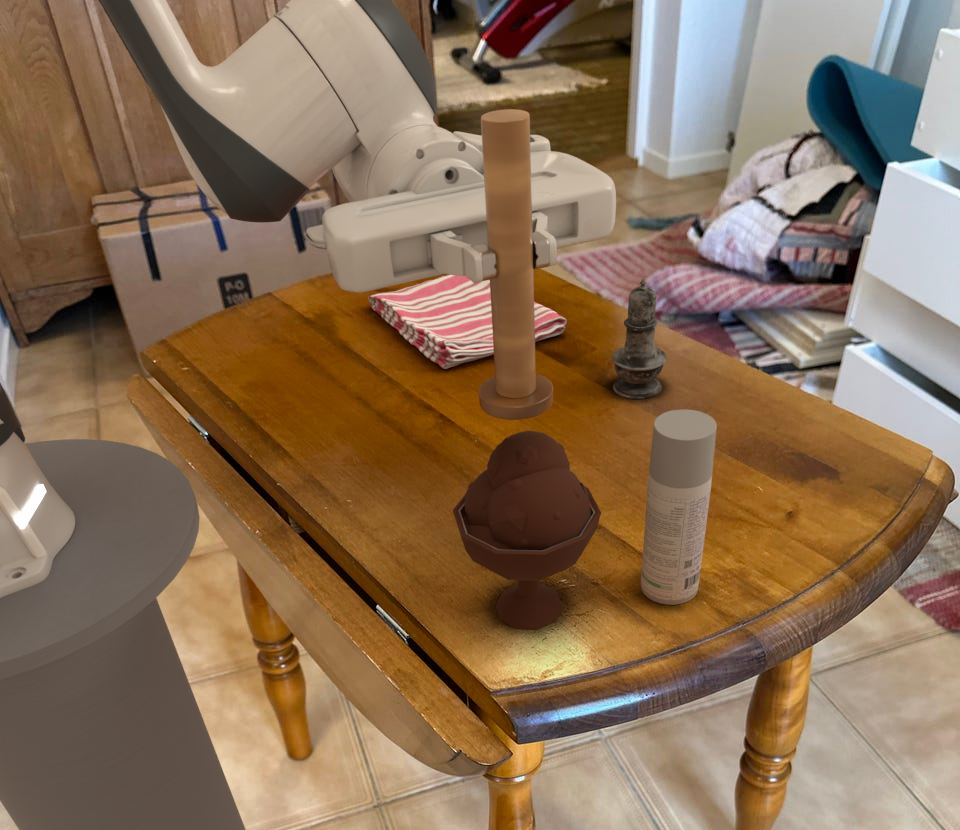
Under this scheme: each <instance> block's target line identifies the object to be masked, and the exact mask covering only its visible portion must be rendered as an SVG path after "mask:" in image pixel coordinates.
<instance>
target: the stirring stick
mask: <svg viewBox="0 0 960 830" xmlns="http://www.w3.org/2000/svg"><path fill="white" fill-rule="evenodd" d="M530 116H531V115H530V113H529V112H528V111H527V110H523V109H515V108H514V109H513V108H510V109H509V108H508V109H496V110H492V111H488V112H486V113H484V114H483V115H481V116H480V128H481V129H480V130H481V136H482V149H483V167H484V185H485V203H486V221H487V239H488V246H489V248H491V249H493V250H494V252H495V255H496V264H495V266H494V267H495V268H496V269H497V277H496V278H494V279H490V293H491V311H492V329H493V347H494V354H493V363H494V376H492V377H490V378H488V379H486V380H485V381H484V382H483V383H481V385H480V387H479V389H478V397H479V398H478V401H479V406H480V409H481V410H482V411H483V412H484V413H485V414H487V415H489V416H490V417H493V418H497V419H499V420H500V419H501V420H510V421H520V420H527V419H531V418H534V417H539V416H541V415H543V414H544V413H546V412H547V411H548V410H549V409H550V408H551V407H552V406H553V403H554V399H555V398H554V384H553V383H552V382H551V380H550V379H548V378H547V377H545V376H543V375H540V374H537V370H536V369H537V367H536V365H537V364H536V342H535V319H534V301H535V285H534V283H535V281H534V278H535V277H534V269H533V235H532V193H531V151H530V135H531V117H530Z"/></svg>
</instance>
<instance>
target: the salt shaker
mask: <svg viewBox="0 0 960 830" xmlns="http://www.w3.org/2000/svg"><path fill="white" fill-rule="evenodd" d="M640 280H641V281H640V282H639V284H640V285H639V286H636V287H634V288H633V289H632V290H631V291H630V292H629V293H628V300H627V301H628V303H627V309H628V310H627V318H626V319H624V321H623V325H624V327H625V328H626V333H625V341H624V345H623V346H622V347H620V348H617V349H616V350H615V351H614V352H612V355H611V362H612V363H613V364H614V367H613V368H614V370H615V372H616V375H617V376H618V377H619V378H618V379H617V380H616V381H615V382H614V383H613V386H612V389H613V391H614V393H615V394H616V395H618V396H620V397H622V398H624V399H625V398H626V399H629V400H630V399H632V400H645V399H650V398H653V397H656V396H657V395H659V394H660V393H661V391H662V389H663V386H662V383H661V382H660V381H659V380H657V378H658V377H659V376H660V374H661V372H662V371H663V368H664V365H665V363H666V362H667V360H668V357H667V353H666V352H664V351H663V350H662V349H660V348H658V347H656V344H655V335H656V334H655V333H656V328H657V327H658V326H659V321H658V319H657V318H656V309H657V308H656V306H657V294H656V292H655V290H654V289H653V288H651V287H649V286H647V285H646V284H647V283H648V282H647V281H646V280H645V278H642V279H640Z"/></svg>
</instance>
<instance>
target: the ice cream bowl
mask: <svg viewBox="0 0 960 830" xmlns="http://www.w3.org/2000/svg"><path fill="white" fill-rule="evenodd" d="M569 461H570V460H569V459H568V456H567V453H566V451H565V448H564V445H563V444H561V443H560V442H559V443H558V441H557V440H556V439H555V438H554V437H552V436H550V435H548V434H546V433H544V432H543V431H541V432H540V431H534V430H524V431H519V432H516V433H512V434H511V435H509V436H508V437H507V436H506V437H505V438H504V439H503V440H502V441H500V443H498V444H497V445H496V447H495V448H494V450H493V451H492V453H491V454H490V456H489V459H488V461H487V464H486V469H485V470H483V471H482V472H481V473H479V475H478V476H477V477H475V479H474V480H473V481H471V482H470V483H469V484H468V487H467V490H466V492H465V494H464V496H463V497H462V498H461V499H460V500H459V501H458V503H457V504H456V505H455V506H454V508H453V509H452V513H453V517H454V519H455V522H456V525H457V529H458V532H459V534H460V538H461V541H462V545H463V546H464V547H463V548H464V550H465V552H466V554H468V556H469V557H470V559H471V561H472V562H474V563H476V564H478V565H479V566H481V567H483V568H484V569H486V570H489V571H490V572H492V573H495V574H496V575H498V576H500V577H502V578H504V579H506V580H508V581H517V584H515V585H513V586H510V587H508V588H505V589H504V591H502V594H501V595H500V596H499V598H497V599H498V600H496V604H495V610H496V613H497V615H498V618H499V621H502V622H503V623H505V624H506V625H509V626H511V627H512V628H514V629H517V630H519V629H520V630H539V629H541V628H544V627H546V626H548V625H552V624H553V623H556V622H557V621H558V619H559V617H560V615H562V614H561V613H562V612H563V610H564V605H563V603H562V600H561V599H560V596H559V594H558V591H557V590H556V589H554V588H552V587H550V586H547V585H546V584H544V583H542V582H541V583H540V581H542V580H544V579H547V578H549V577H552V576H554V575H557V574H559V573H561V572H564V571H565V570H567V569H569V568H571V567H573V566H574V565H576V564H577V563H578V561H579V560H580V558H581V556H582V554H583V552H584V551H585V549H586V548H587V546H588V544H589V543H590V541H591V539H592V538H593V536H594V534H595V533H596V531H597V529H598V526H599V522H600V519H601V516H602V515H601V514H602V511H601V509H600V507H599V505H598V504H597V502H596V500H595V498H594V496H593V494H592V492H591V490H590V488H589V487H587V486H586V485H584V483H583V482H581V480H580V479H579V478H578V476H577V475H576V474H575V473H574V472H573V471H572V470H571V467H570V466H571V464H570V462H569Z"/></svg>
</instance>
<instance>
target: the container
mask: <svg viewBox="0 0 960 830" xmlns="http://www.w3.org/2000/svg"><path fill="white" fill-rule="evenodd" d="M717 428H718V424H717V422H716V420H715V419H714V418H713V417H712V416H710V414H707V413H705V412H703V411H699V410H695V409H687V408H686V409H684V408H683V409H672V410H669V411H666V412H663V413H661V414H660V415H658V416H657V417H656V418H655V419H654V421H653V428H652V437H651V439H652V440H651V448H650V449H651V450H650V457H649V468H648V477H647V490H646V503H645V516H644V517H645V520H644V532H643V533H644V534H643V546H642V560H641V561H642V562H641V575H640V589H641V591H642V593H643V594H644V596H645V597H647V598H648V599H649V600H650V601H653V602H655V603H658V604H661V605H667V606H668V605H670V606H673V605H675V606H676V605H682V604H684V603H687V602H689V601H691V600H693V599H694V598H695V597H696V596H697V594H698V591H699V587H700V586H699V584H700V577H701V569H702V563H703V562H702V561H703V553H704V546H705V539H706V531H707V522H708V515H709V514H708V513H709V508H710V507H709V506H710V499H711V490H712V481H713V480H712V479H713V470H714V458H715V449H716V438H717Z"/></svg>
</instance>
